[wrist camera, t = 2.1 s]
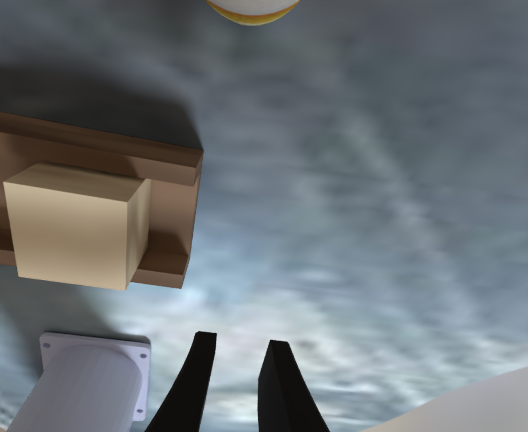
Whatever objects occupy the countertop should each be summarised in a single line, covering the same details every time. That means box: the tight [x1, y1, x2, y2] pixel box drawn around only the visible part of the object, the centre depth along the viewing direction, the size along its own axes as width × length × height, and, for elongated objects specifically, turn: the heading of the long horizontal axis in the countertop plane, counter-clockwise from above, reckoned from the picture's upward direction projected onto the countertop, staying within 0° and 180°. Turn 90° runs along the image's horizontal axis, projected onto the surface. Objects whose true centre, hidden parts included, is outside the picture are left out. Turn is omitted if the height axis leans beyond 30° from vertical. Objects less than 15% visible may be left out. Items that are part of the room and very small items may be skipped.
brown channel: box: [0, 112, 204, 289], centre depth 18 cm, size 8×18×3 cm, turn 78°
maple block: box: [3, 160, 151, 291], centre depth 17 cm, size 5×5×4 cm
